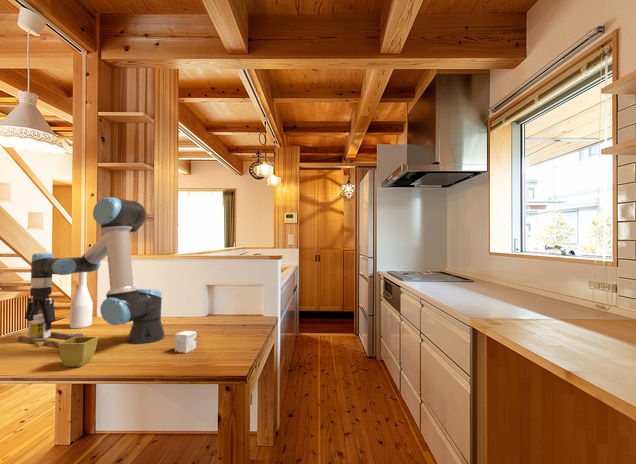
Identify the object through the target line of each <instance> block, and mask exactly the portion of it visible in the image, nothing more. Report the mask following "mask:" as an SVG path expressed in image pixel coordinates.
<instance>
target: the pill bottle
mask: <svg viewBox="0 0 636 464" xmlns="http://www.w3.org/2000/svg"><path fill="white" fill-rule="evenodd" d="M33 319H34V320H33V321H32V322H31V331H30V336H29V337H32V338H39V339H46V340H47V339H48V337H45V338H43V322H45V321H44V317H43V314H42V313H39V314H38V313H37V315H34V316H33ZM47 320H48V319H47Z"/></svg>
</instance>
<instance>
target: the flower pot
mask: <svg viewBox="0 0 636 464" xmlns="http://www.w3.org/2000/svg"><path fill="white" fill-rule="evenodd" d="M98 340H99V336H87V337H73V338H71V339H68V340H67V339H65V340H64V341H60V342H61V343H59V347H58V351H59V358H60V361H61V362H62V364H63V365H64V366H65V367H67V368H69V367H82V366H84V365H86V364H88V363H90V361H91V360H92V358H93V356H94V354H95V352H96V350H97V349H96V348H97V345H98Z"/></svg>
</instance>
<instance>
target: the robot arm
mask: <svg viewBox="0 0 636 464" xmlns="http://www.w3.org/2000/svg"><path fill="white" fill-rule="evenodd" d="M92 216H93V220H94V221H95V223H98V224H100V230H101V231H102V232H104V234H103V235H102V236H101V238H100V239H99V240H97V242H96V243H94V244H93V245H92V246H91V247H90V248H89V249H88V250H87V251H86V252H85V253H84V254H83V255H81V256H79V257H78V256H77V257H76V256H75V257H74V256H73V257H54V254H53V253H51V252H50V253H49V252H48V253H47V252H46V253H45V252H44V253H43V252H42V253H40V252H39V253H33V254H32V256H31V265H30V290H29V295H30V297H29V298H27V306H26V311H25V315H24V319H25V320H27V321H28V324H27V325H28V326H27V327H28V329H27V332H28V333H27V337H30V331H31V322H32V321H33V320H34V319H33V316H34V315H38V313H39V310H40V311H41V314H43V317H44V321H45V322H43V338H45V337H47V338H50V337H49V336H50V334H51V332H52V323H53V322H55V321H56V315H55V314H56V313H55V312H56V311H55V305H54V304H55V299H53V298H52V299H51V298H50V297H49V296H50V295H52V292H53V291H52V290H53V287H52V285H53V275H59V276H69V275H71V274H79V273H82V272H87V273H91V272H96V271H99V269H100V266H101V261H102V260H104V259H105V258H106V257H107V264H108V266H107V267H108V278H109V290H108V291H107V292H106V294H105V295H106V296H105V297H106V299H104V300H103V301H102V302H101V303H102V304H100V308H99V309H100V311H99V312H100V315H101V317H102V319H103V320H104V321H105V322H106V323H107V324H109V325H112V326H119V325H125V324H127V323H129V322H132V324H131V327H130V331H129V333H128V336H127V342H129V343H131V344H147V343H153V342H154V343H155V342H158V341H160V340H162V339H164V338H165V331H164V328H163V324H162V299H163V296H162V291H161V290H159V289H150V288H148V289H147V288H136V287H135V286H134V277H133V276H134V275H133V265H132V264H133V263H132V253H131V242H130V235H131V234H132V233H135V232H137V231H138V230H139V229H141V227H142V226H143V225H144V223H145V221H146V220H147V211H146V209H145V207H144V206H143V205H142V204H141V203H140V202H137V201H135V200H129V199H123V198H119V197H108V196H105V197H103V198H101V199H99V200H98V201H97V203H96V204H95V205H94V207H93V210H92ZM47 319H48V320H47Z"/></svg>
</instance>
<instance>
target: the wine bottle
mask: <svg viewBox="0 0 636 464" xmlns="http://www.w3.org/2000/svg"><path fill="white" fill-rule="evenodd" d="M87 274H88V272H82V273H78V286H77V288H76V291H75V293H74V296H73V298H72V301H71V303H70V309H69V327H70V328H71V329H85V328H88V327H91V326H92V324H93V311H94V310H93V309H94V308H93V305H94V303H93V299H92V297H91V294H90V291H89V289H88V286H87V276H88V275H87Z"/></svg>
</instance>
